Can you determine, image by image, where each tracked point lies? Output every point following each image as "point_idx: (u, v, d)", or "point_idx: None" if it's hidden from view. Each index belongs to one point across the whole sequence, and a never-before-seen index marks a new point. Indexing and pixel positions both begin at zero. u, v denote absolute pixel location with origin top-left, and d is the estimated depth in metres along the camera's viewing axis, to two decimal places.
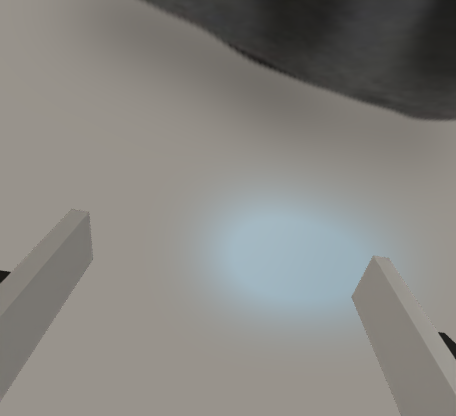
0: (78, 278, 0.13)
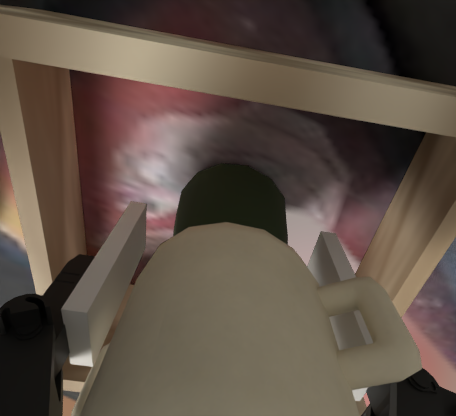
0: (137, 264, 0.14)
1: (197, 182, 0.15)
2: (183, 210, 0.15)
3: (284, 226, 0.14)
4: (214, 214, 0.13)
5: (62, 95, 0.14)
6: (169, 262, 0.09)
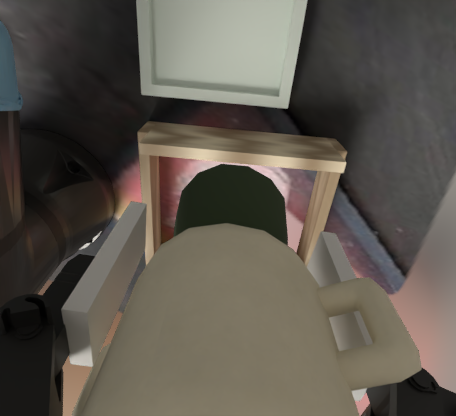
0: (137, 264, 0.14)
1: (198, 183, 0.15)
2: (183, 210, 0.15)
3: (284, 227, 0.14)
4: (214, 215, 0.13)
5: None
6: (170, 263, 0.09)
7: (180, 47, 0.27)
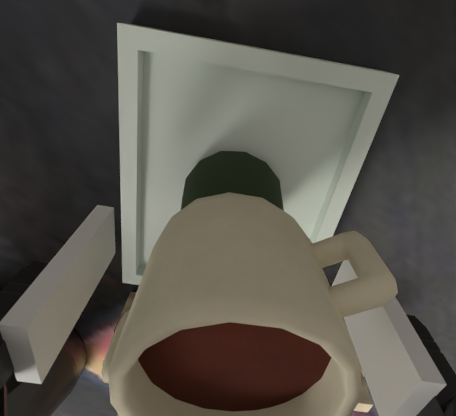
0: (103, 271, 0.14)
1: (200, 168, 0.17)
2: (188, 193, 0.16)
3: (280, 202, 0.16)
4: (217, 191, 0.14)
5: None
6: (183, 225, 0.11)
7: None
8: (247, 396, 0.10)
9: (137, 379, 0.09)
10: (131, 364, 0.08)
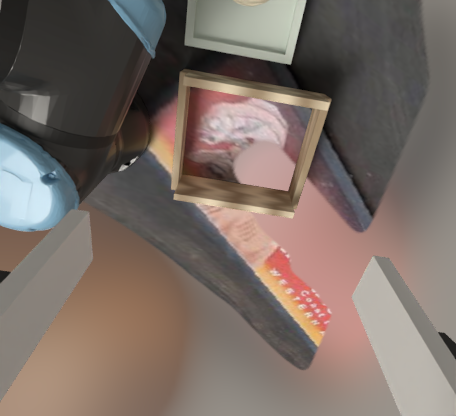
0: (78, 278, 0.13)
1: None
2: None
3: None
4: None
5: (188, 95, 0.43)
6: None
7: (216, 11, 0.38)
8: None
9: None
10: None
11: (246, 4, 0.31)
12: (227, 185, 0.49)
